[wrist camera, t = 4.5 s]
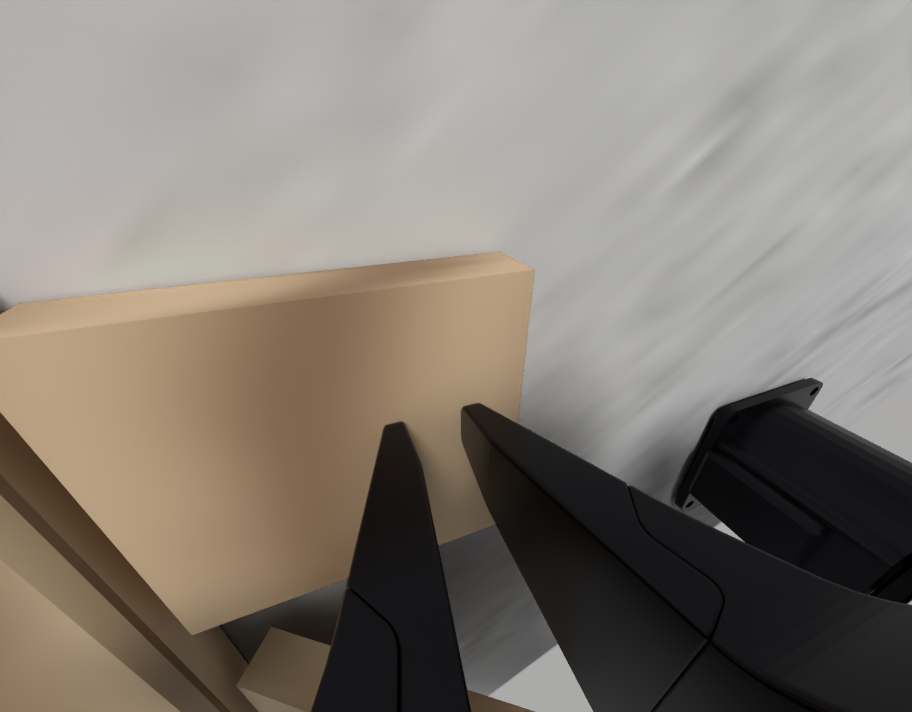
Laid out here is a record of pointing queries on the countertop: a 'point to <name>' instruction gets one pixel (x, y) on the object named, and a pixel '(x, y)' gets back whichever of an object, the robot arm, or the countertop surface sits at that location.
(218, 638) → the laid board
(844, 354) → the countertop surface
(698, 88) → the countertop surface
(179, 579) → the plank
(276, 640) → the plank
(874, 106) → the countertop surface
